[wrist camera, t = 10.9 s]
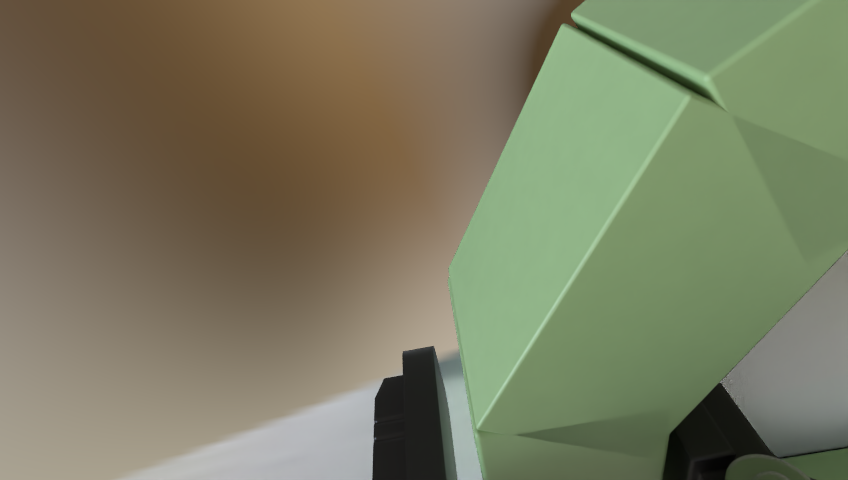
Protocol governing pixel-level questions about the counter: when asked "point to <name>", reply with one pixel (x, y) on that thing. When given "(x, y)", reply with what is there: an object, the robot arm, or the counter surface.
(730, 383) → the counter surface
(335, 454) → the counter surface
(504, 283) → the ring
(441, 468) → the robot arm
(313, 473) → the counter surface
